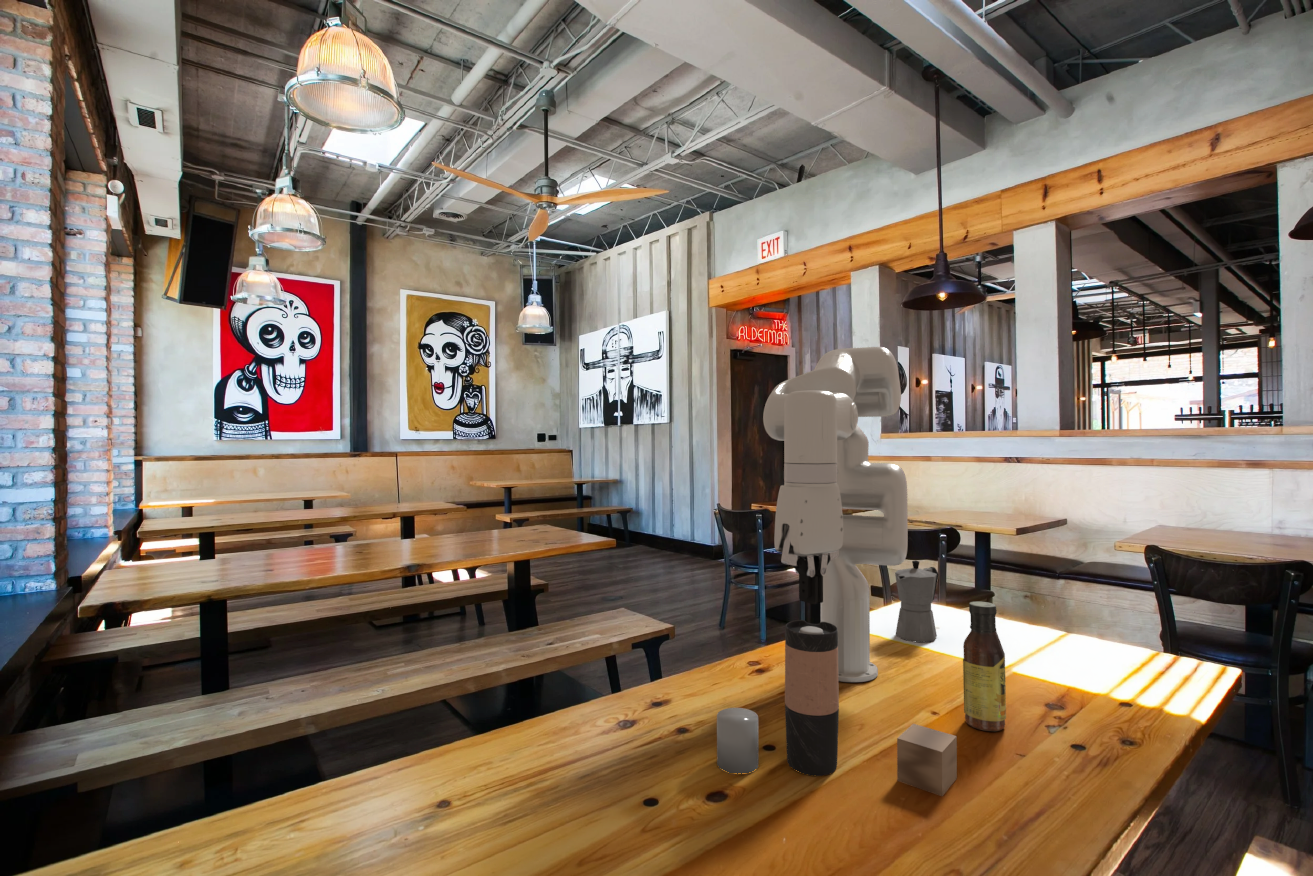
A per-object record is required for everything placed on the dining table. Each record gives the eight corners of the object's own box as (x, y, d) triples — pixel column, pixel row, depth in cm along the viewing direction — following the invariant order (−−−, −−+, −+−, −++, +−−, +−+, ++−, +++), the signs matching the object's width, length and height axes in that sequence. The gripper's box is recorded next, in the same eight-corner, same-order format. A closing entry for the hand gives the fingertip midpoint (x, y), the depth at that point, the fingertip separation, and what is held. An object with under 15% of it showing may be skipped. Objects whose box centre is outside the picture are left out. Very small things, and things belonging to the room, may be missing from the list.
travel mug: (809, 782, 90) (808, 637, 90) (774, 758, 97) (773, 623, 97) (850, 769, 93) (849, 630, 93) (814, 746, 100) (813, 616, 100)
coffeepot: (917, 647, 146) (917, 567, 146) (881, 636, 154) (881, 560, 154) (955, 634, 155) (955, 559, 155) (919, 625, 163) (919, 553, 163)
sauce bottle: (1011, 735, 104) (1011, 610, 103) (969, 732, 105) (968, 608, 105) (998, 717, 110) (998, 600, 110) (958, 714, 111) (958, 598, 111)
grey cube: (897, 781, 90) (897, 738, 90) (913, 764, 95) (913, 723, 95) (942, 797, 86) (942, 752, 86) (956, 779, 91) (956, 736, 91)
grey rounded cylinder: (708, 761, 96) (708, 714, 96) (739, 750, 99) (739, 704, 99) (735, 779, 91) (735, 729, 91) (767, 767, 94) (766, 718, 94)
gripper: (826, 473, 102) (826, 590, 102) (754, 476, 94) (754, 603, 94) (865, 475, 96) (865, 600, 96) (792, 479, 88) (792, 615, 87)
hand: (810, 601), depth 95 cm, fingers closed
